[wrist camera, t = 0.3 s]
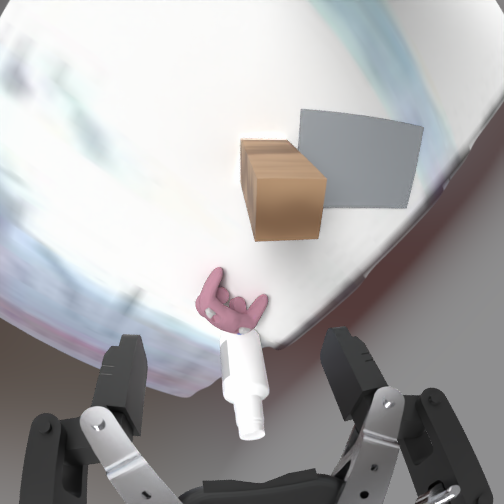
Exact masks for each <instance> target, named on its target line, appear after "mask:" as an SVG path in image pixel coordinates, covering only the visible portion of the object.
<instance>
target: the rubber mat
mask: <svg viewBox="0 0 504 504" xmlns="http://www.w3.org/2000/svg"><path fill="white" fill-rule="evenodd" d="M423 129H424V127H421V126H417V125H412V124H407V123H403V122H398V121H392V120H387V119H381V118H375V117H369V116H362V115H355V114H348V113H339V112H330V111H320V110H309V109H301V116H300V131H299V144H298V151H299V152H300V153H301V154H302V155H304V156H305V157H306V158H307V159H308V160H309V161H310V162H311V163H312V164H313V165H314V166H315V167H316V168H317V169H318V170H319V171H320V172H321V173H322V174H323V175H324V176H325V177H326V178H327V183H326V191H325V198H324V205H323V207H370V208H407V204H408V201H409V197H410V193H411V188H412V184H413V180H414V176H415V171H416V166H417V161H418V157H419V151H420V146H421V141H422V135H423Z"/></svg>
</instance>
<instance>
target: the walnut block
mask: <svg viewBox="0 0 504 504" xmlns="http://www.w3.org/2000/svg"><path fill="white" fill-rule="evenodd" d="M240 182H241V186H242V190H243V194H244V199H245V203H246V207H247V211H248V215H249V219H250V223H251V227H252V231H253V235H254V240H255V242H258V241H280V240H304V239H318V237H319V231H320V225H321V218H322V212H323V205H324V198H325V191H326V183H327V178H326V177H325V176H324V175H323V174H322V173H321V172H320V171H319V170H318V169H317V168H316V167H315V166H314V165H313V164H312V163H311V162H310V161H309V160H308V159H307V158H306V157H305V156H304V155H302V154H301V153H300V152H299V151H298V150H297V149H296V148H295V147H294V146H293V145H292V144H291V143H290V142H289V141H288V140H287V139H271V138H241V144H240Z"/></svg>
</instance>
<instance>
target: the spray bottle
mask: <svg viewBox="0 0 504 504" xmlns="http://www.w3.org/2000/svg"><path fill="white" fill-rule="evenodd" d="M220 357H221V372H222V384H223V396H224V398H225V399H226V400H227V401H228V402H230V403H233V404H234V411H235V414H236V423H237V425H238V428H239V435H240V438H241V439H243V440H255V439H260V438H262V437H263V436H265V432H264V415H263V405H262V400H264V399H265V398H266V397H267V396H268V394H269V385H268V380H267V374H266V368H265V363H264V358H263V352H262V347H261V341H260V337H259V334H258V333H257V332H256V330H254V329H253V330H251V331H250V332H248V333H245V334H242V335H238V334H233V333H229V332H226V331H225V332H224V333H222V335H221V337H220Z"/></svg>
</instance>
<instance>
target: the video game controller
mask: <svg viewBox="0 0 504 504" xmlns="http://www.w3.org/2000/svg"><path fill="white" fill-rule="evenodd" d="M222 276H223V269H222V268H221V267H218V268H216V269H214V270H213V271H212V273H211V274H210V275H209V277H208V278H207V280H206V282H205V284H204V286H203V288H202V291H201V293H200V295H199V296H198V297H197V299H196V303H195V304H196V309H197V311H198V313H199V314H200V315H201V316H203V317H205V318H206V319H207V320H208V321H209V322H210V323H211V324H212V325H214V326H216V327H217V328H219V329H221V330H223V331H226V332H229V333H233V334H238V335H242V334H245V333H248V332H250V331H251V330H253V329H254V328H255V326H256V325H257V323H258V321H259V319H260V318H261V316H262V314H263V312H264V310H265V309H266V306H267V303H268V297H267V295H265V294H262V295H261V296H259V297H258V298H257V299H256V300H255V301H254V302H253V303H252V305H251V306H250V307H249V309H248V310H247V309H246V303H245V301H244V299H243V298H241V297H236V298H233V299H231V300H230V302H229V307H227V306H225V305H224V303H226V302H227V301H228V299H229V293H228V291H227V290H226V289H225V288H224V287H219V288H218V286H219V284H220V282H221V280H222Z"/></svg>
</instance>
